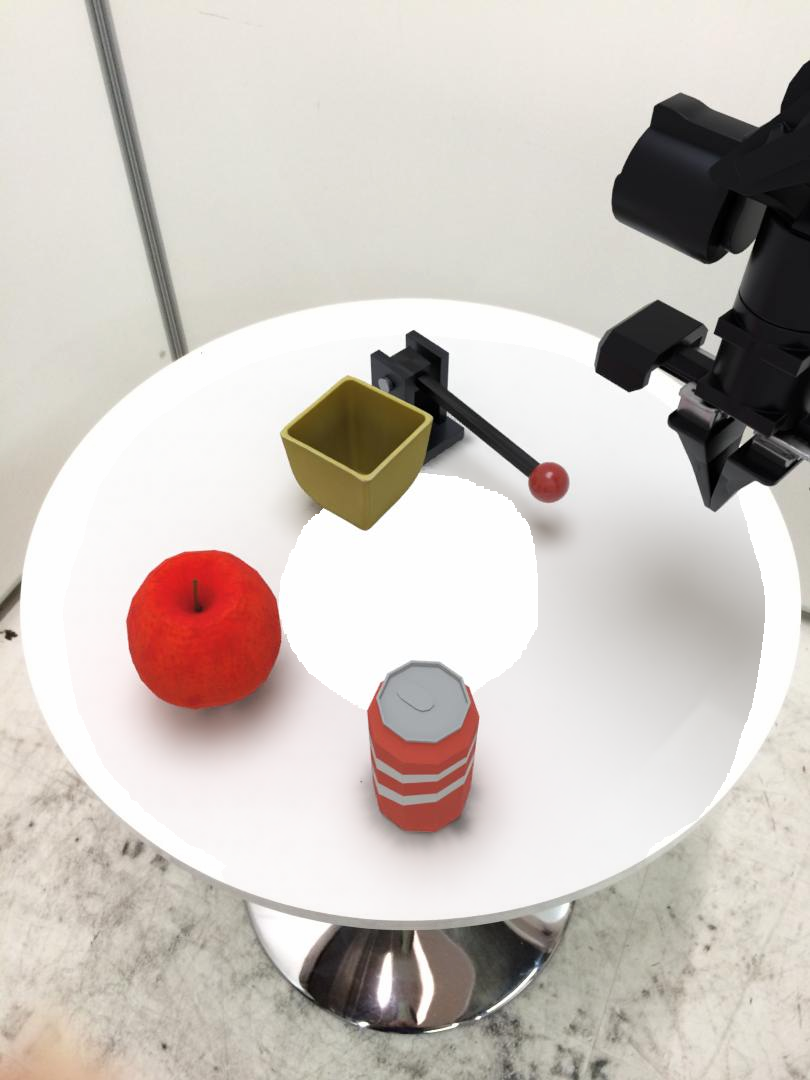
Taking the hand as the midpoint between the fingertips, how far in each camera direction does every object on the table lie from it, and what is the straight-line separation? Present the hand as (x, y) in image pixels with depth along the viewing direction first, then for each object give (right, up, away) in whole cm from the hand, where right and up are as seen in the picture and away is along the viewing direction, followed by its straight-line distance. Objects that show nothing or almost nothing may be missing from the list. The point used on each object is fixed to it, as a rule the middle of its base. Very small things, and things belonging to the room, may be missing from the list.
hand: (714, 505), depth 56 cm
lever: (-14, +6, +16) cm, 22 cm away
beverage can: (-19, -19, +2) cm, 27 cm away
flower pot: (-24, +1, +18) cm, 30 cm away
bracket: (-19, +8, +24) cm, 32 cm away
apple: (-33, -13, +7) cm, 36 cm away
